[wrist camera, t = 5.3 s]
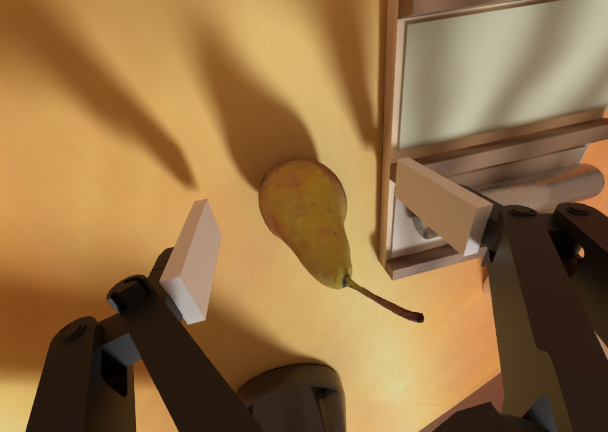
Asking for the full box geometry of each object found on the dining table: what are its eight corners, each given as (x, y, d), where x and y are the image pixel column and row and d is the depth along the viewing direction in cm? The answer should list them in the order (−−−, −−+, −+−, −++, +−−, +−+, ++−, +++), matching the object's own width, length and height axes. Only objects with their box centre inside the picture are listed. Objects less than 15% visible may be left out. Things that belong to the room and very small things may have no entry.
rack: (379, 261, 24) (392, 280, 22) (387, -4, 13) (415, -19, 11) (537, 220, 26) (564, 234, 24) (655, -43, 15) (725, -63, 13)
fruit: (294, 129, 16) (375, 226, 6) (344, 183, 19) (458, 311, 9) (239, 187, 17) (227, 349, 7) (294, 229, 20) (342, 389, 10)
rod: (420, 242, 20) (441, 235, 17) (407, 207, 20) (426, 195, 17) (569, 204, 21) (613, 192, 18) (552, 173, 22) (591, 156, 19)
